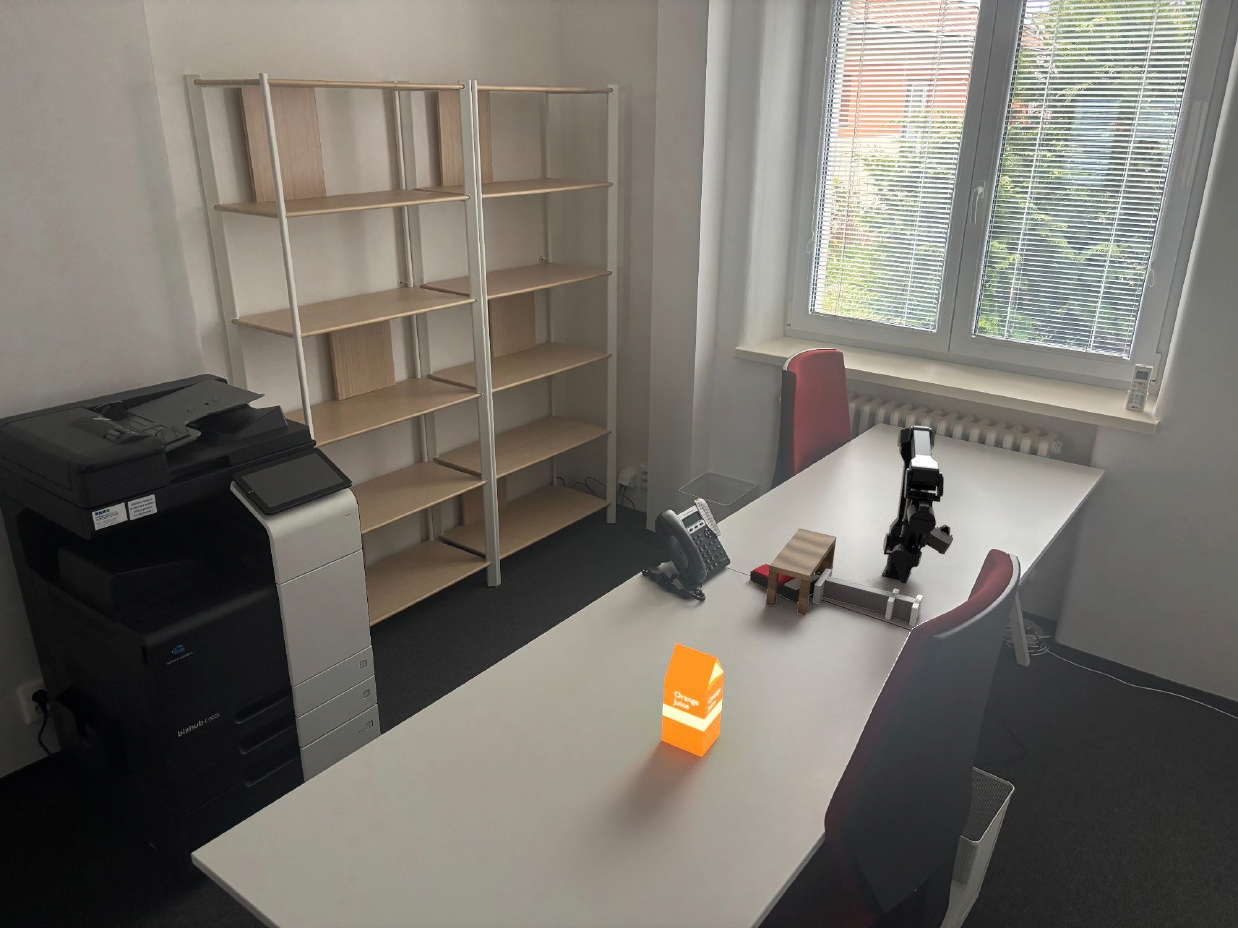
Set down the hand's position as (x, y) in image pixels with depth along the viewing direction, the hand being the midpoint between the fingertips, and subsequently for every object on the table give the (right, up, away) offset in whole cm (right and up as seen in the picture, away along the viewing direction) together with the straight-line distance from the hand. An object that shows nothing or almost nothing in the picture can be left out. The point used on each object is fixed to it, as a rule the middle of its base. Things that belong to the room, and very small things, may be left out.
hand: (907, 574), depth 208 cm
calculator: (-26, -5, +17) cm, 32 cm away
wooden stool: (-23, -6, +15) cm, 28 cm away
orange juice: (-55, -27, -39) cm, 73 cm away
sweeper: (-8, -9, +8) cm, 14 cm away
